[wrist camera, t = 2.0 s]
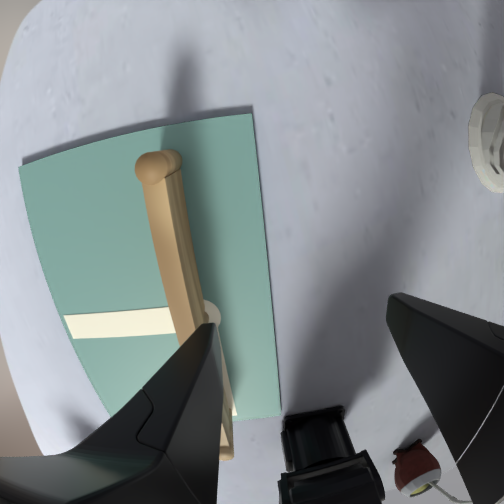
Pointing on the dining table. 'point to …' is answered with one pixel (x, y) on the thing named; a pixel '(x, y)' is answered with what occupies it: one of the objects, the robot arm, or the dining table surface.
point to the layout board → (145, 261)
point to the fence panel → (172, 238)
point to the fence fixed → (225, 424)
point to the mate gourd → (418, 472)
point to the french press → (488, 141)
